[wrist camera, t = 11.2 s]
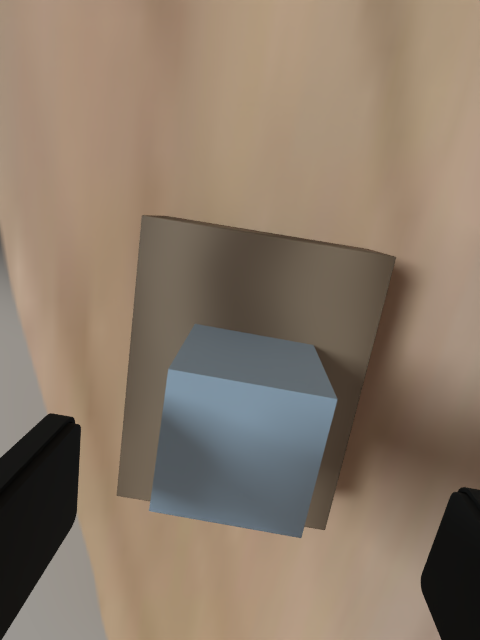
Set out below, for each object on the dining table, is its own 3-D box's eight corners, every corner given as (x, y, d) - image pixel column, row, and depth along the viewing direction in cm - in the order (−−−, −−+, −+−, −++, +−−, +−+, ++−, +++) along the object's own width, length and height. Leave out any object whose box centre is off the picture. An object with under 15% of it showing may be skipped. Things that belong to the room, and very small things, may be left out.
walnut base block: (367, 249, 19) (396, 257, 15) (313, 476, 22) (324, 530, 18) (165, 215, 19) (141, 215, 15) (141, 447, 22) (116, 495, 18)
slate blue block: (313, 345, 16) (337, 399, 11) (288, 449, 17) (301, 538, 13) (194, 323, 16) (168, 368, 11) (179, 429, 17) (149, 511, 13)
